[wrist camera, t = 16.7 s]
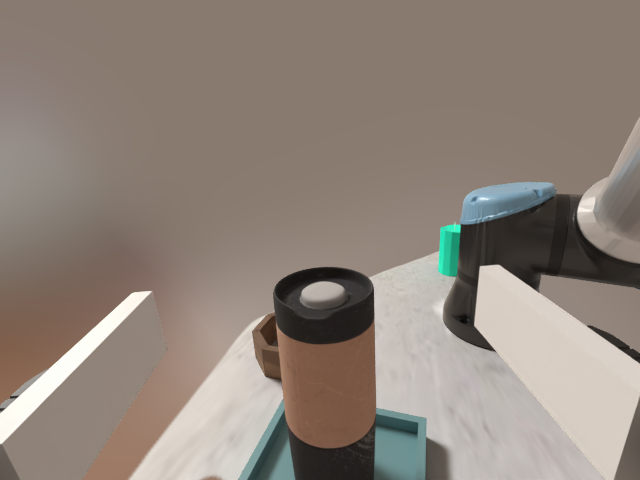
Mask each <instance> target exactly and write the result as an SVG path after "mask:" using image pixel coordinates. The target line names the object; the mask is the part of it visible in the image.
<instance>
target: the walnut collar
mask: <svg viewBox="0 0 640 480" xmlns="http://www.w3.org/2000/svg"><path fill="white" fill-rule="evenodd" d="M252 334H253V341H254V348H255V355H256V359H257V361H258V363H259V365H260V367H261V369H262V371H263V373H264V375H265V376H266V377H271V378H276V379H281V380H282V378H281V368H280V358H279V348H278V347H276V346H271V344H272V343H273V342H274V340H277V339H278V338H277V328H276V318H275V312H274V313H270V314H268V315H266V316H265V318H264V319H263V320H262V321H261V322H260V323H259V324H258V325H257V326H256V328H255V329H254V330H253V331H252Z"/></svg>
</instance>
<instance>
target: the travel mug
mask: <svg viewBox="0 0 640 480" xmlns="http://www.w3.org/2000/svg"><path fill="white" fill-rule="evenodd" d="M273 295H274V308H275V318H276V328H277V338H278V348H279V358H280V368H281V378H282V388H283V398H284V407H285V416H286V424H287V430H288V437H289V443H290V450H291V456H292V463H293V469H294V476H295V480H374V462H375V432H376V378H375V325H374V288H373V284H372V282H371V280H370V279H369V278H368V277H367V276H365V275H363V274H361V273H359V272H357V271H354V270H350V269H346V268H338V267H319V268H311V269H306V270H302V271H298V272H295V273H293V274H290V275H288V276H286V277H284V278H283V279H281V280H280V281H279V282H278V284H276V286H275V289H274V292H273Z"/></svg>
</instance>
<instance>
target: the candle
mask: <svg viewBox="0 0 640 480" xmlns="http://www.w3.org/2000/svg"><path fill="white" fill-rule="evenodd" d="M460 229H461V225H449V226H446V227H441V233H440V251H439V268H438V270H439V272H440V273H441V274H444V275H447V276H457V269H458V256H459V242H460Z"/></svg>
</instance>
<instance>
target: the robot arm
mask: <svg viewBox="0 0 640 480" xmlns="http://www.w3.org/2000/svg"><path fill="white" fill-rule="evenodd" d="M556 191H557V190H556V189H555V186H554V185H553V184H552V183H546V182H535V183H534V182H521V183H510V184H502V185H494V186H489V187H484V188H480V189H477V190H474V191H472V192H471V193H469V194H468V195H467V196H466V197H465V199H464V202H463V209H462V216H461V219H460V224H461V229H460V242H459V256H458V269H457V278H456V280H455V282H454V284H453V286H452V288H451V290H450V293H449V295H448V297H447V299H446V301H445V303H444V308H443V321H444V323H445V325H446V326H447V328H448V329H449V330H450V331H451V332H453V333H454V334H455V335H457V336H458V337H460V338H462V339H463V340H465V341H467V342H470V343H472V344H475V345H478V346H481V347H484V348H488V349H493V350H496V352H497V353H498V354H499V355H500V356H501V358H502V359H503V360H504V361H505V362H506V363H507V365H508V366H509V367H510V368H511V369H512V370H513V372H514V373H515V374H516V375H517V376H518V377H519V379H520V380H521V381H522V382H523V383H524V385H525V386H526V387H527V388H528V389H529V390H530V392H531V393H532V394H533V395H534V396H535V397H536V399H537V400H538V401H539V402H540V403H541V404H542V406H543V407H544V408H545V409H546V410H547V412H548V413H549V414H550V415H551V416H552V417H553V419H554V420H555V421H556V422H557V423H558V424H559V426H560V427H561V428H562V429H563V430H564V432H565V433H566V434H567V435H568V436H569V437H570V439H571V440H572V441H573V442H574V443H575V444H576V446H577V447H578V448H579V449H580V450H581V451H582V453H583V454H584V455H585V456H586V457H587V459H588V460H589V461H590V462H591V463H592V464H593V466H594V467H595V468H596V469H597V470H598V471H599V473H600V474H601V475H602V476H603V477H604V478H605V480H640V353H638V352H637V351H635V350H634V349H630V348H629V346H628V345H626V344H625V343H623V342H622V341H620V340H619V339H617V338H616V337H614V336H613V335H611V334H609V333H607V332H604V331H602V330H600V329H597V328H595V327H593V326H585V325H584V324H582V323H581V322H580V321H578V320H577V319H575V318H574V317H573V316H571V315H570V314H568V313H567V312H565V311H564V310H563V309H561V308H560V307H558V306H557V305H555V304H554V303H553V302H551V301H550V300H548V299H547V298H545V297H544V296H543V295H541V294H540V292H539V285H540V279H541V275H550V276H557V277H564V278H571V279H578V280H585V281H592V282H599V283H606V284H613V285H620V286H627V287H634V288H637V289H640V117H639V119H638V121H637V123H636V125H635V127H634V129H633V131H632V133H631V135H630V137H629V139H628V141H627V143H626V145H625V147H624V148H623V150H622V152H621V154H620V156H619V158H618V160H617V162H616V164H615V166H614V168H613V170H612V172H611V174H610V176H609V177H607V178H605V179H602V180H601V181H599V182H597V183H596V184H595V185H593V186H592V187H591V188H590V189H589V190H587V191H586V193H585V194H584V195H577V194H567V195H566V194H556ZM166 351H167V346H166V342H165V338H164V334H163V331H162V327H161V323H160V319H159V315H158V311H157V307H156V304H155V300H154V296H153V292H152V291H147V292H134V293H132V294H131V295H130V296H129V297H128V298H126V299H125V300H124V301H123V302H122V303H121V304H120V305H119V306H118V307H117V308H116V309H114V310H113V311H112V312H111V313H110V314H109V315H108V316H107V317H106V318H105V319H103V320H102V321H101V322H100V323H99V324H98V325H97V326H96V327H95V328H94V329H92V330H91V331H90V332H89V333H88V334H87V335H86V336H85V337H84V338H83V339H81V341H79V342H78V343H77V344H76V345H75V346H74V347H73V348H72V349H71V350H70V351H68V352H67V353H66V354H65V355H64V356H63V357H62V358H61V359H60V360H58V361H57V362H56V363H55V364H54V365H53V366H52V367H51V368H50V369H46V370H45V371H43V372H42V373H40V374H38V375H37V376H35V377H34V378H32V379H30V380H29V381H27V382H26V383H25V384H24V385H23V386H21V387H20V388H19V389H18V390H17V391H16V392H15V393H13V394H12V395H11V396H10V399H7V400H6V401H4V402H3V403H2V404H1V405H0V480H82V479H83V478H84V476H85V475H86V473H87V472H88V470H89V469H90V467H91V465H92V464H93V462H94V461H95V459H96V458H97V456H98V455H99V453H100V452H101V450H102V449H103V447H104V446H105V444H106V442H107V441H108V439H109V438H110V436H111V435H112V433H113V432H114V430H115V429H116V427H117V425H118V424H119V423H120V421H121V419H122V418H123V416H124V415H125V413H126V412H127V410H128V409H129V407H130V406H131V404H132V403H133V401H134V399H135V398H136V396H137V395H138V393H139V392H140V390H141V389H142V387H143V386H144V384H145V383H146V381H147V380H148V378H149V376H150V375H151V374H152V372H153V370H154V369H155V367H156V366H157V364H158V363H159V361H160V360H161V358H162V357H163V355H164V354H165V352H166Z"/></svg>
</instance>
